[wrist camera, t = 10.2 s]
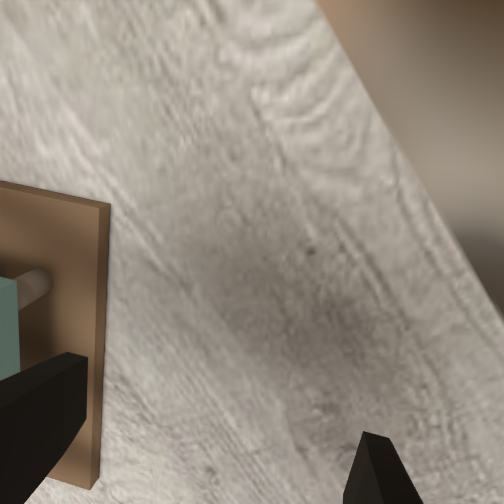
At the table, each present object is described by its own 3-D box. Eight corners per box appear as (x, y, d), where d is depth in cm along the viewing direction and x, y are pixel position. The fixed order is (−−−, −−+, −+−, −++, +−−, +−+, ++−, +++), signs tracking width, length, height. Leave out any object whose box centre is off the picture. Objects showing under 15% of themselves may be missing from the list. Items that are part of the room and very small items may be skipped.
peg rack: (99, 477, 26) (59, 537, 22) (-25, 438, 27) (-83, 489, 24) (110, 204, 20) (58, 223, 16) (-50, 169, 21) (-133, 181, 17)
